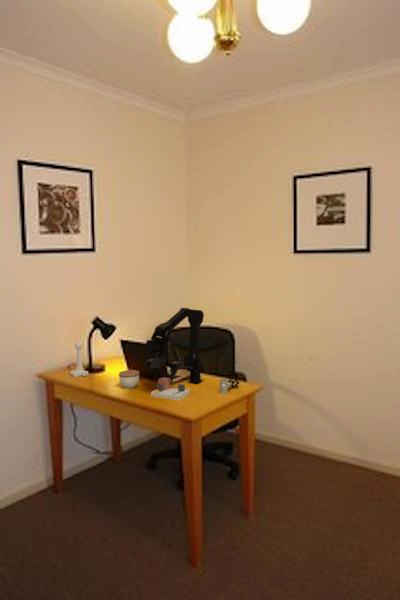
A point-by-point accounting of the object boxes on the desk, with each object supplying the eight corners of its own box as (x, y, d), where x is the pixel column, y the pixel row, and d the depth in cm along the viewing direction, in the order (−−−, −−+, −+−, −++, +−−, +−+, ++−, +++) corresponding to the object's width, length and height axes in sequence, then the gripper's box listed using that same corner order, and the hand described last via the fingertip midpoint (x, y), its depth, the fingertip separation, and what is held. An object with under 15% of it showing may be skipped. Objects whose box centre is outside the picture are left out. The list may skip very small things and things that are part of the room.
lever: (179, 389, 234) (179, 383, 234) (184, 390, 233) (184, 384, 232) (178, 390, 233) (177, 384, 232) (183, 391, 231) (183, 385, 231)
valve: (227, 395, 231) (239, 388, 241) (227, 382, 231) (239, 376, 240) (216, 392, 235) (228, 386, 245) (215, 380, 234) (228, 374, 244)
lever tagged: (158, 389, 235) (157, 383, 234) (163, 390, 233) (163, 384, 233) (156, 390, 233) (156, 384, 233) (161, 391, 232) (161, 385, 232)
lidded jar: (115, 388, 246) (114, 370, 245) (128, 382, 255) (127, 366, 254) (131, 391, 241) (130, 373, 240) (143, 385, 250) (143, 368, 249)
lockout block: (163, 386, 240) (162, 377, 240) (170, 387, 238) (170, 378, 237) (158, 388, 236) (158, 379, 236) (165, 390, 234) (165, 380, 234)
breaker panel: (162, 389, 241) (162, 383, 241) (189, 393, 234) (189, 387, 234) (150, 396, 232) (150, 389, 231) (178, 400, 224) (178, 393, 224)
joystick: (89, 374, 273) (88, 341, 270) (81, 378, 266) (79, 343, 264) (75, 372, 278) (73, 339, 275) (66, 376, 271) (64, 342, 269)
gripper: (138, 352, 232) (139, 382, 234) (170, 355, 223) (171, 387, 225) (150, 347, 242) (151, 377, 244) (182, 350, 233) (183, 381, 235)
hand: (164, 380), depth 237 cm, fingers open, 9 cm apart
